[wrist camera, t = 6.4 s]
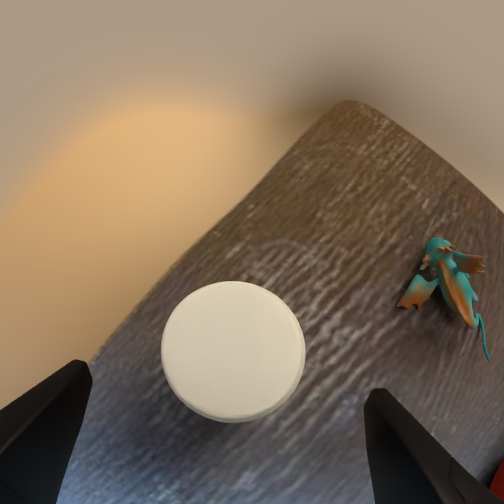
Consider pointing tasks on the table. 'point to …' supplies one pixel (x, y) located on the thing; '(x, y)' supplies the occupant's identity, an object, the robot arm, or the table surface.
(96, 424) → the table surface
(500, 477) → the fruit
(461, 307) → the dragon figurine
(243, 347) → the pill bottle
